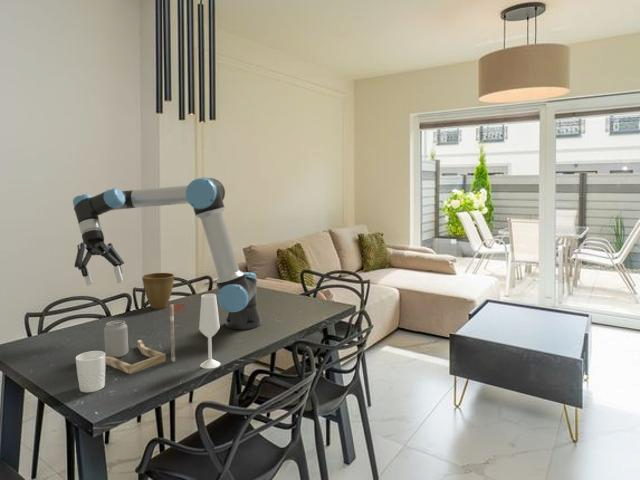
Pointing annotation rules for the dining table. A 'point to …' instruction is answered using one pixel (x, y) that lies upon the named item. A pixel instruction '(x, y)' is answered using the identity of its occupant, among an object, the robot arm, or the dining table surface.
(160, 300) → the plant pot
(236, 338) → the dining table surface
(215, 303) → the champagne flute
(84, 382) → the white cup
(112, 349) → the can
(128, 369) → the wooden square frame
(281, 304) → the dining table surface
